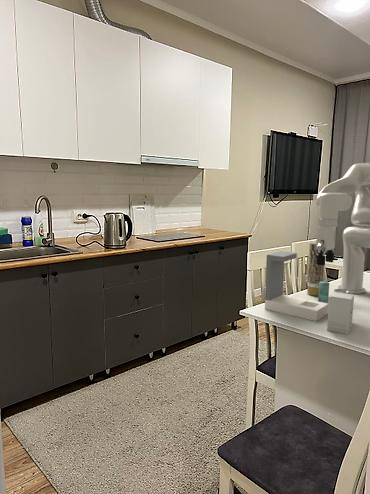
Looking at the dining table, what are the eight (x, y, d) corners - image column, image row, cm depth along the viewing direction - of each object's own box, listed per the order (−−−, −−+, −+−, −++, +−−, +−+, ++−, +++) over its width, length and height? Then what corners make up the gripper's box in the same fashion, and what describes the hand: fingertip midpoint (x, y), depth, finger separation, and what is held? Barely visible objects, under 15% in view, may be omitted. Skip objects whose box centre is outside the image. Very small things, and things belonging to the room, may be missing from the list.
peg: (316, 303, 163) (318, 281, 161) (326, 303, 163) (327, 281, 161) (319, 306, 159) (320, 283, 157) (329, 306, 159) (330, 283, 157)
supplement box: (348, 334, 128) (351, 299, 126) (326, 330, 132) (328, 296, 130) (352, 328, 135) (354, 294, 133) (330, 324, 138) (332, 291, 136)
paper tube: (322, 293, 179) (325, 241, 175) (321, 296, 173) (324, 243, 169) (308, 291, 182) (310, 240, 178) (306, 295, 176) (309, 242, 172)
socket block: (278, 302, 165) (280, 251, 161) (328, 313, 151) (331, 257, 147) (264, 308, 156) (266, 254, 152) (316, 321, 142) (319, 261, 138)
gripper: (326, 221, 164) (324, 259, 167) (310, 223, 151) (308, 265, 154) (344, 222, 159) (341, 261, 162) (329, 224, 146) (326, 267, 149)
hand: (325, 263), depth 158 cm, fingers open, 9 cm apart
